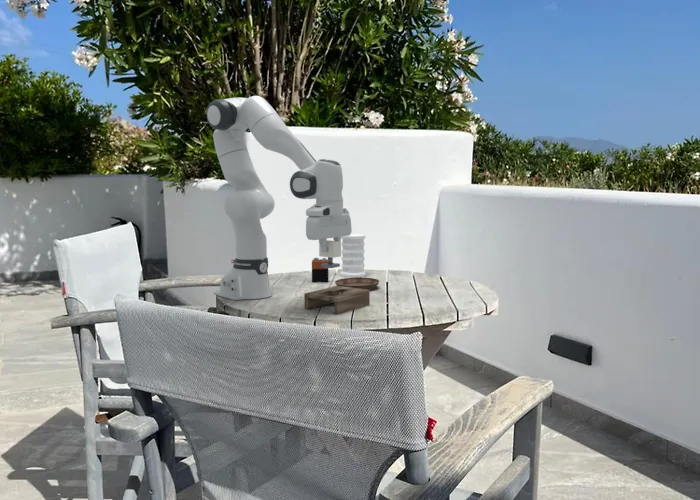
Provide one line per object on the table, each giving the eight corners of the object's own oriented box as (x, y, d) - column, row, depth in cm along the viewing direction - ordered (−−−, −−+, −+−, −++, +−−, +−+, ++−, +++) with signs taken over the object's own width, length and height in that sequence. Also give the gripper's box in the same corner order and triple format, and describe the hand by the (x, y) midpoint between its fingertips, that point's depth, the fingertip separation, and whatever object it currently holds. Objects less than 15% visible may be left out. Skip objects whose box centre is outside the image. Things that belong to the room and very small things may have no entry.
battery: (312, 280, 260) (312, 257, 259) (328, 280, 260) (328, 257, 259) (311, 282, 256) (311, 258, 254) (328, 282, 256) (328, 258, 254)
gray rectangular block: (319, 266, 203) (318, 241, 202) (327, 265, 207) (327, 240, 206) (333, 268, 200) (333, 242, 199) (341, 266, 203) (341, 241, 202)
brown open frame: (304, 308, 205) (304, 293, 204) (336, 300, 219) (336, 285, 219) (338, 314, 197) (338, 298, 196) (369, 304, 211) (369, 289, 211)
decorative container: (371, 276, 272) (371, 235, 269) (348, 278, 266) (348, 236, 264) (357, 272, 281) (357, 233, 279) (335, 274, 276) (335, 234, 274)
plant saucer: (341, 293, 232) (341, 285, 232) (329, 285, 249) (329, 278, 249) (385, 291, 237) (385, 283, 237) (371, 283, 254) (371, 276, 254)
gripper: (340, 207, 211) (341, 247, 213) (302, 210, 195) (302, 254, 196) (355, 208, 207) (356, 248, 209) (317, 211, 191) (318, 255, 193)
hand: (330, 251), depth 203 cm, fingers closed on gray rectangular block, 4 cm apart
